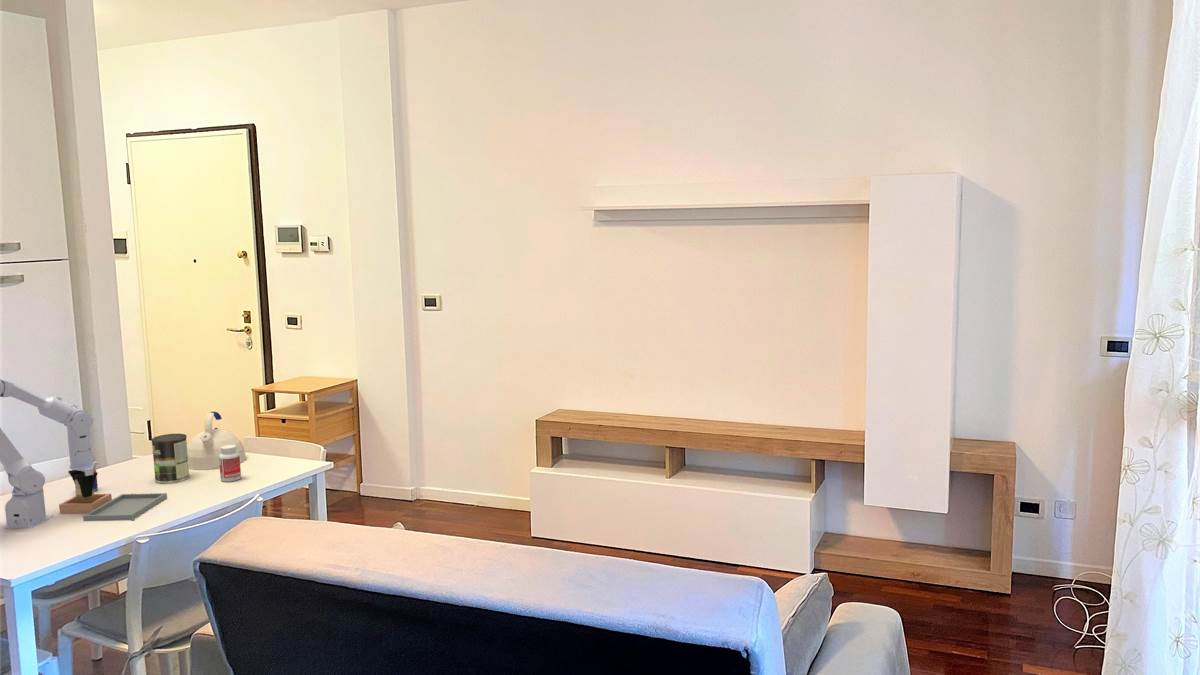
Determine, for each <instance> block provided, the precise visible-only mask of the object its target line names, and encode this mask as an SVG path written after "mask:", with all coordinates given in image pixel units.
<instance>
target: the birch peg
mask: <svg viewBox="0 0 1200 675" xmlns="http://www.w3.org/2000/svg"><path fill="white" fill-rule="evenodd" d="M74 488H75V496H76V499H77V503H92V502H94V494H95V492H94V491H93V492H92V496H89V497H83V496H82V493H81V489H80V486H79V483H78V481H77V479H75V483H74Z"/></svg>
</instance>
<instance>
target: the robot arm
mask: <svg viewBox="0 0 1200 675" xmlns="http://www.w3.org/2000/svg"><path fill="white" fill-rule="evenodd" d="M0 397H1V398H9V397H12V398H14V399H16V400H18V401H21V402H24V403H26V404H29V405H31V406H33V407H35V408H37V409H38V410H37V411H38V413H39V414H40V415H41V416H44V417H46V418H48V419H51V420H52V421H54V422H57V423H59V424H63V425H64V426H65V427H66V430H67V431H66V432H67V443H68V453H69V463H70V464H69V469H70V470H68V474H69V476H70V477H71V478H72V481H73V482H74V484H75V479H77V481H78V483H79V486H80V489H81V493H82V496H83V497H89V496H92V492H93V485H94V481H95V479H96V477H97V478H98V472H97V471H96V472H93V467H94V465H98V464H99V462H98V461H96V460H95V461H93V454H94V453H93V445H92V444H93V443H92V436H91V435H92V434H91V428H90V427H91V426H92V424H93V422H94V418H92V415H91V414H90V412H88V411H87V410H83V409H80V408H79V407H78V406H79V405H77V404H74V403H73V404H70V403H68V402H66V401H64V400H63V398H62V397H60V396H58V395H57V396H54V395H53V396H47V397H44V396H41V395H39V394H37V393H36V392H34V391H31V390H29V389H27V388H25V387H23V386H21V385H19V384H17V383H16V382H11V381H8V380H5V379H1V378H0ZM92 453H93V454H92ZM0 464H1V465H2V466H3V469H4V470H3V471H5V473H6V474H7V478H8V483H9V484H10V486H11V487H13V488H12V491H11V494H12V495H11V497H10V499H8V501H6V503H5V505H4V509H5V510H4V511H5V519H6V526H4V527H3V528H4V529H32V528H35V527H37V526H38V525H40V524H42V523H45V522H46V521H48V520H50V519H51V518H53V517H54V515H53V514H51V515H47V511H46V504H45V495H44V494H45V493H44V485H45V484H46V479H45V475H44V474H43V473H42V472H41V471H38V470H36V469H35V468H33V466H32V465H31V464H30V463H29V462H28V461H27V460H26V459H25V458H24V457H23V456H22V455H21V453H20V452H19V451H18V449H17V448H16V447H15V445H14V444H13V442H12V441H11V440H10V438H9V437H8V436H7V435H6V434H5V432H4V431H3V430H2V428H1V427H0Z"/></svg>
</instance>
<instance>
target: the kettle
mask: <svg viewBox="0 0 1200 675" xmlns="http://www.w3.org/2000/svg"><path fill="white" fill-rule="evenodd" d="M213 418H215V420H217V421H219V420H222V418H223V417H222V415H220V413H219V412H217V411H210V412H208V413H207V414H206V417H205V418H204V419H205V420H204V431H202V432H199V433H198V434H196V435H194V436H193V437H192V439H190V441H189V442H188V443H187V454H188V466H189V470H193V471H197V470H198V471H204V470H205V471H206V470H207V471H208V470H217V469H220V465H219V455H220V454H221V453H222V452H221V447H222V446H226V445H236V448H237V449H236V452H238V453H239V456H240V464H241V463H242V462H244V461H245V460H246V459H247V457H246V451H245V447H244V445H243V442H242V441H241V439H240V438H238V437H237V435H235V434H234V433H232V432H230V431H229V430H227V429H220V428H218V427H214V428H213V420H214V419H213Z"/></svg>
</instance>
